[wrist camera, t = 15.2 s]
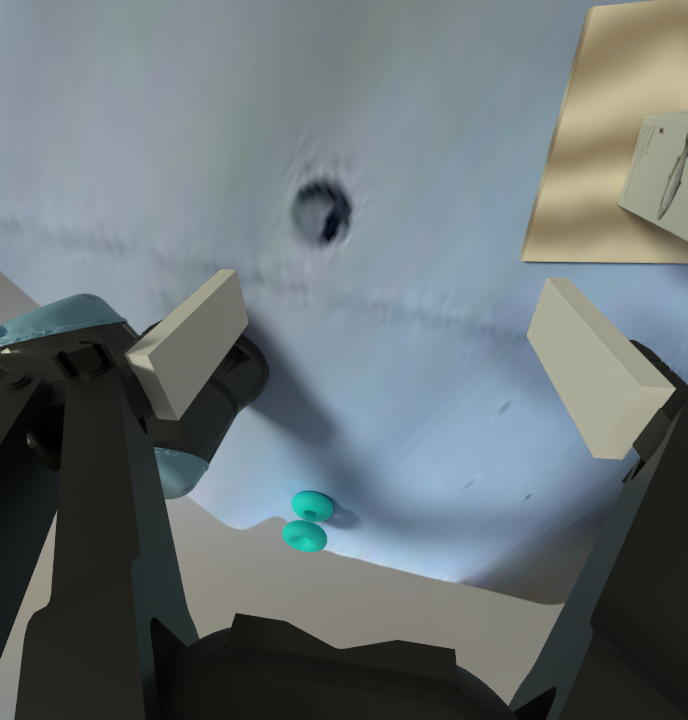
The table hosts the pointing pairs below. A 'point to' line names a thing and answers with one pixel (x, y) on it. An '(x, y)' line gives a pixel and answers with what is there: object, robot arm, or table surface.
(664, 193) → the supplement box
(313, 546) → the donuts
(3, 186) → the table surface
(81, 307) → the robot arm
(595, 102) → the birch board
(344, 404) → the table surface
